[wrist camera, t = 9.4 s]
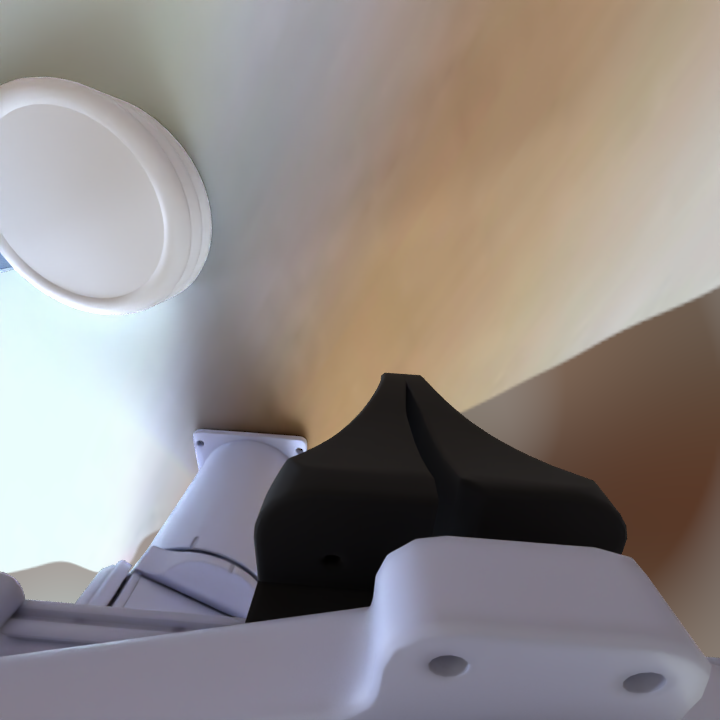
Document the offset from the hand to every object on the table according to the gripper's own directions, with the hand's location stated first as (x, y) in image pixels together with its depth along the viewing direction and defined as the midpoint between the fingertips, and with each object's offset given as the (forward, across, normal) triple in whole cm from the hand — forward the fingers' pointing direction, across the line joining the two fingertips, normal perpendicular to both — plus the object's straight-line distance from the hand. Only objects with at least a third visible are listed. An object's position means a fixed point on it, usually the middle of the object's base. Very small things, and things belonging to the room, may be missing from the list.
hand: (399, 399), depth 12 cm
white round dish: (+10, +15, -5) cm, 18 cm away
